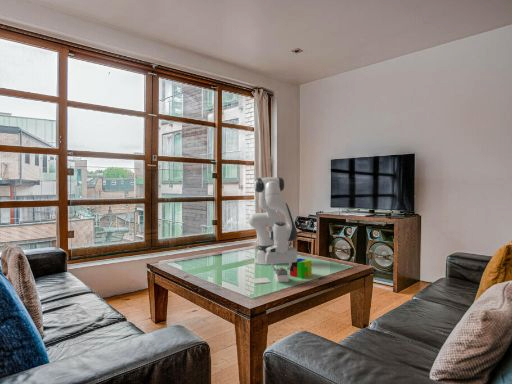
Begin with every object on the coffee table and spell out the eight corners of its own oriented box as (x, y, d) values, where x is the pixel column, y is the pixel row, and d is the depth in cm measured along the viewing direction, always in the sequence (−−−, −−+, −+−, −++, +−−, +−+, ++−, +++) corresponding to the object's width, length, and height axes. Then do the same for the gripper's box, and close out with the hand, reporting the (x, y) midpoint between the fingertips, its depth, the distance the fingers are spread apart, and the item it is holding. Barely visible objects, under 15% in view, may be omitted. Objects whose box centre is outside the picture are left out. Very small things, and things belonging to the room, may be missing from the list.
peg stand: (274, 279, 212) (274, 266, 212) (285, 278, 213) (285, 266, 213) (277, 282, 205) (277, 269, 205) (288, 281, 206) (288, 268, 206)
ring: (275, 273, 211) (275, 269, 211) (284, 272, 213) (284, 268, 212) (278, 275, 205) (278, 271, 205) (287, 274, 207) (287, 270, 207)
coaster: (251, 279, 212) (251, 278, 212) (266, 278, 214) (266, 277, 214) (254, 284, 203) (254, 283, 203) (270, 282, 205) (270, 281, 204)
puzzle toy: (300, 272, 226) (299, 258, 226) (311, 275, 218) (311, 260, 218) (290, 275, 219) (289, 260, 219) (301, 278, 212) (301, 263, 212)
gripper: (295, 246, 214) (295, 267, 214) (264, 248, 210) (264, 270, 210) (298, 247, 208) (299, 270, 208) (266, 250, 203) (267, 272, 204)
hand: (281, 270), depth 209 cm, fingers open, 8 cm apart
